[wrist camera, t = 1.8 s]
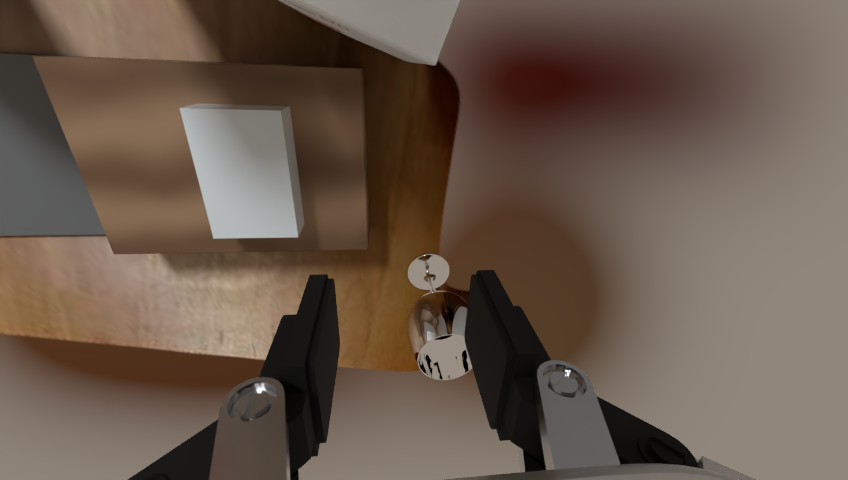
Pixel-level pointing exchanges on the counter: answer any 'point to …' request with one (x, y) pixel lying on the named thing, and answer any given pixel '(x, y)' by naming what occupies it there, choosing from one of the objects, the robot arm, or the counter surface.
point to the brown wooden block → (171, 157)
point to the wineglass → (437, 322)
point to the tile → (246, 169)
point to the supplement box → (387, 24)
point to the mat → (37, 160)
